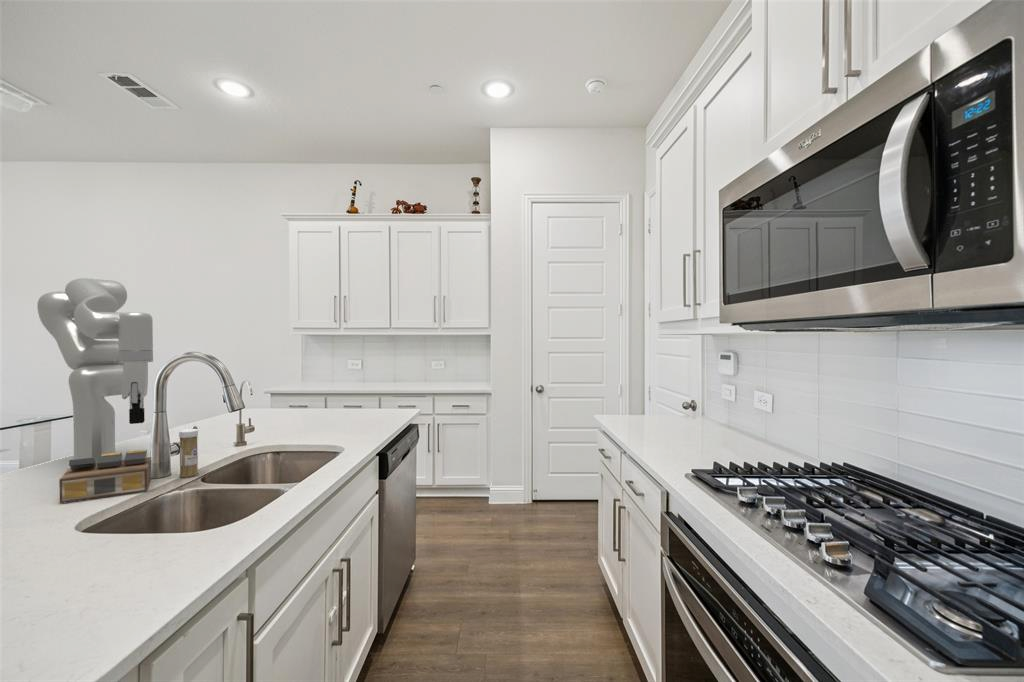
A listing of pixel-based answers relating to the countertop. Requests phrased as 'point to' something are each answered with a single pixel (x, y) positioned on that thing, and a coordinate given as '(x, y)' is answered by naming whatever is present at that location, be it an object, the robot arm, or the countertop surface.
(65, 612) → the countertop surface
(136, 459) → the rocker
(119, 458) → the rocker
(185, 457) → the sprinkles bottle
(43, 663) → the countertop surface
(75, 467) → the rocker
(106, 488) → the switch unit
